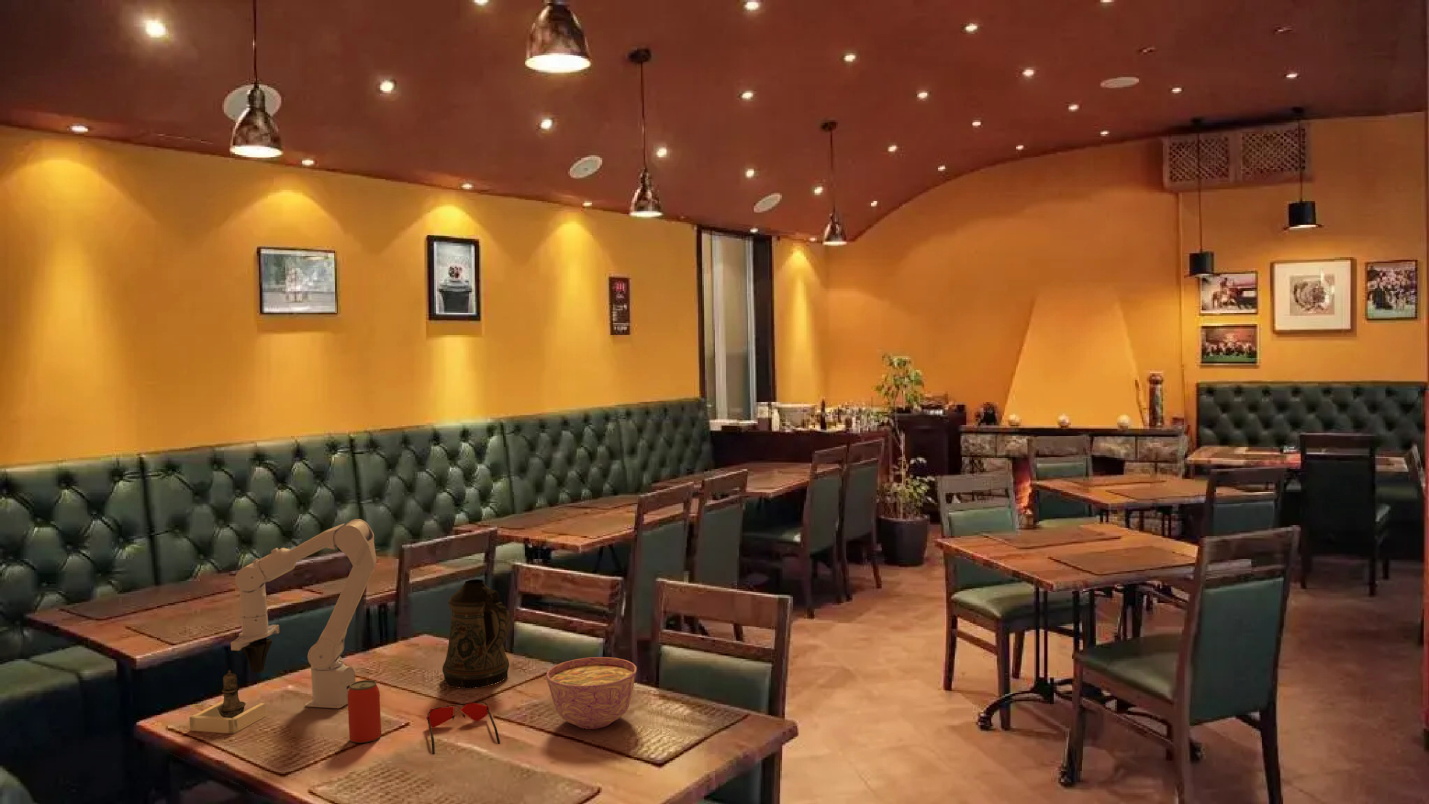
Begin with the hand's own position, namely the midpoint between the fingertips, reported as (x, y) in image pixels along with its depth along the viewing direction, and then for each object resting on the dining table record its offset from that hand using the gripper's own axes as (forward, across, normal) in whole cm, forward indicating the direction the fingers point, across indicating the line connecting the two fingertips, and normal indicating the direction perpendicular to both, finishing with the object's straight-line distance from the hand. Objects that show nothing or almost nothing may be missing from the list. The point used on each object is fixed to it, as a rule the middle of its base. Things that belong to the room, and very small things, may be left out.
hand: (257, 671), depth 242 cm
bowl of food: (+9, -3, +83) cm, 83 cm away
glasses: (+10, +8, +57) cm, 58 cm away
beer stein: (+9, -28, +44) cm, 53 cm away
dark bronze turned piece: (+9, +9, 0) cm, 13 cm away
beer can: (+9, +14, +37) cm, 40 cm away
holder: (+9, +10, 0) cm, 14 cm away
